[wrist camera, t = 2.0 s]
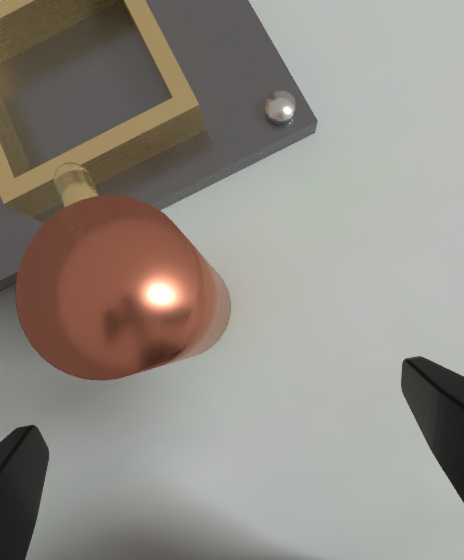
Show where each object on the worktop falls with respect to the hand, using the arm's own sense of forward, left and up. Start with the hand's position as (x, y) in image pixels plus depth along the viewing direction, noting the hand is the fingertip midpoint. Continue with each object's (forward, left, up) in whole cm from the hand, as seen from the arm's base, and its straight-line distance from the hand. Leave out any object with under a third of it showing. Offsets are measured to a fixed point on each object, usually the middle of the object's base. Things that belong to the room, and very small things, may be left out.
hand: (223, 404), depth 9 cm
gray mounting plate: (+16, +9, -11) cm, 21 cm away
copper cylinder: (+4, +4, -11) cm, 13 cm away
